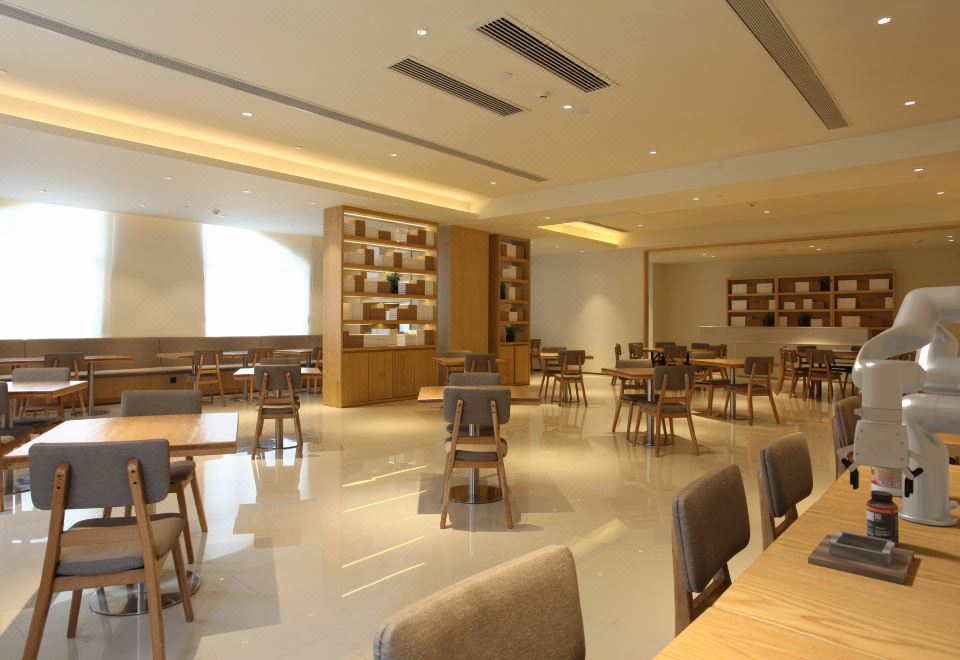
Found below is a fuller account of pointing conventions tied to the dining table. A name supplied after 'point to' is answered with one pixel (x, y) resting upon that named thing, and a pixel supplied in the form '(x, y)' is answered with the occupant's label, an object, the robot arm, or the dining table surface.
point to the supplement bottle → (882, 516)
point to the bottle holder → (863, 556)
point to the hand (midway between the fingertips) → (880, 492)
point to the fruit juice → (886, 480)
